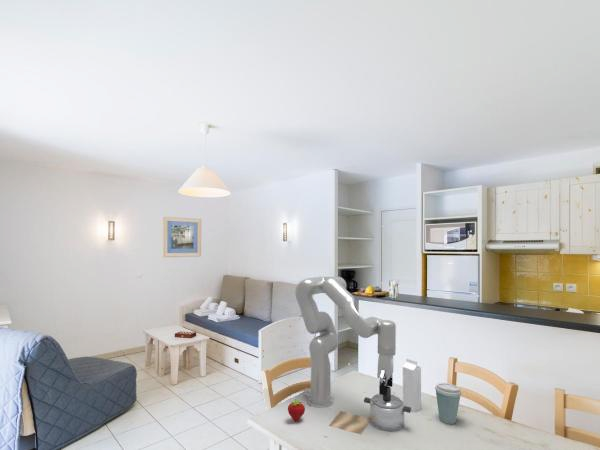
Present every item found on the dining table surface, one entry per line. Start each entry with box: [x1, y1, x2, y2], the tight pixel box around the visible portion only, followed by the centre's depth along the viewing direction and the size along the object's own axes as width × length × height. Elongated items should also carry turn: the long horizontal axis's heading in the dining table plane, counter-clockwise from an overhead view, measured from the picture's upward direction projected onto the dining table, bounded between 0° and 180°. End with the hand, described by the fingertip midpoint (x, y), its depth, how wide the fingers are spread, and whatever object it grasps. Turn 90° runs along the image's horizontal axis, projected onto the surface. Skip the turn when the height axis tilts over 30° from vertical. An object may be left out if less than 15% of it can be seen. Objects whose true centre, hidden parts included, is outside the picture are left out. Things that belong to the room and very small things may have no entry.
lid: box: [373, 386, 402, 409], centre depth 145 cm, size 12×12×6 cm
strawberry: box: [287, 398, 306, 422], centre depth 146 cm, size 6×8×10 cm
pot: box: [363, 397, 412, 433], centre depth 144 cm, size 20×14×9 cm
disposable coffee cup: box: [434, 382, 462, 425], centre depth 148 cm, size 11×11×15 cm
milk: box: [402, 358, 422, 413], centre depth 159 cm, size 6×6×22 cm
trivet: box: [328, 410, 370, 435], centre depth 145 cm, size 14×14×1 cm
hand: (386, 390), depth 145 cm, fingers open, 9 cm apart
